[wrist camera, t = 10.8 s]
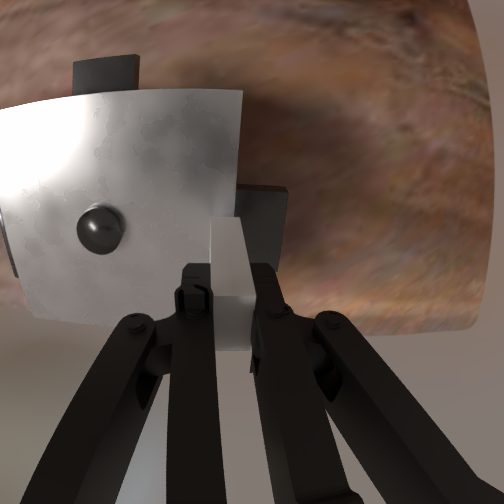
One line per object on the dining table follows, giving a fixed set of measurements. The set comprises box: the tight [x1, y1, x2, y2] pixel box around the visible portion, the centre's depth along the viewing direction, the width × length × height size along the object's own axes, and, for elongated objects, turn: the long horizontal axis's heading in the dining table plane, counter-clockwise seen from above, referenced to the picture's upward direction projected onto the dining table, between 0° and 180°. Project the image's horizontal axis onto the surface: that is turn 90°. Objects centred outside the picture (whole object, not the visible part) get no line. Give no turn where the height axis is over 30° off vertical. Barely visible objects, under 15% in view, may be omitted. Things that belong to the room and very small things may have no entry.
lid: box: [0, 89, 288, 327], centre depth 17 cm, size 15×19×2 cm
